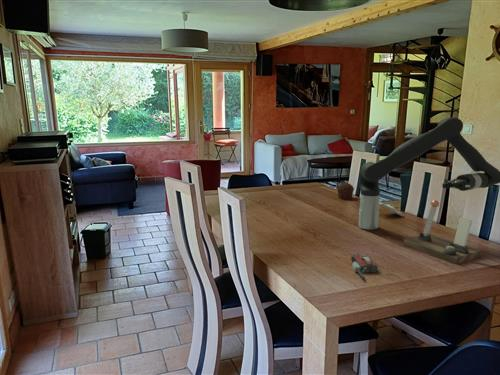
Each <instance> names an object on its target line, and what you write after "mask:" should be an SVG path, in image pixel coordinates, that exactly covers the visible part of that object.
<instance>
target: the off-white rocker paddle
mask: <svg viewBox="0 0 500 375" xmlns="http://www.w3.org/2000/svg"><path fill="white" fill-rule="evenodd" d="M472 222H473V219H469V218H465V217H459V221H458V225H457V228H456V233H455V236H454V240H453V242H454V244H453V246H456V247H459V248H462V249H463V248H464V247H465V246H467V241H468V238H469V233H470V231H471V226H472Z"/></svg>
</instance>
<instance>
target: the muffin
mask: <svg viewBox="0 0 500 375" xmlns="http://www.w3.org/2000/svg"><path fill="white" fill-rule="evenodd" d="M336 190H337V195H338V196H337V197H338V199H340V200H352V198H353V194H354V190H355V188H354V185H352V184H351V183H348V182H342V183H340V184H339V185H338V186H337V187H336Z"/></svg>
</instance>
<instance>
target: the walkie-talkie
mask: <svg viewBox="0 0 500 375" xmlns="http://www.w3.org/2000/svg"><path fill="white" fill-rule="evenodd" d="M350 259H351V261H352V265H351V268H352V270H353V272H355V273H358V275H359V276H360V277H361V278H362V279H363V280H366V277H365V275H364V273H373V274H374V273H377V272H378V265H377V263H375V260H373V259H372V258H371V257H370V256H369V255H368V254H354V255H352V256H351V257H350Z"/></svg>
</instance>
